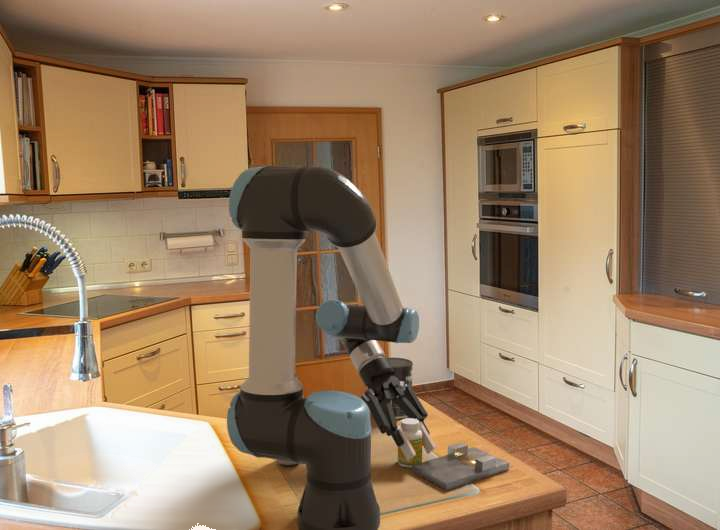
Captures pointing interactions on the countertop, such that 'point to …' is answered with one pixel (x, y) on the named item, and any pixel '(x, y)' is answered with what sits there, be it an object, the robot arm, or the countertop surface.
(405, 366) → the coffee can
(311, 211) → the robot arm
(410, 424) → the supplement bottle
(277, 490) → the countertop surface
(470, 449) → the hinge plate
